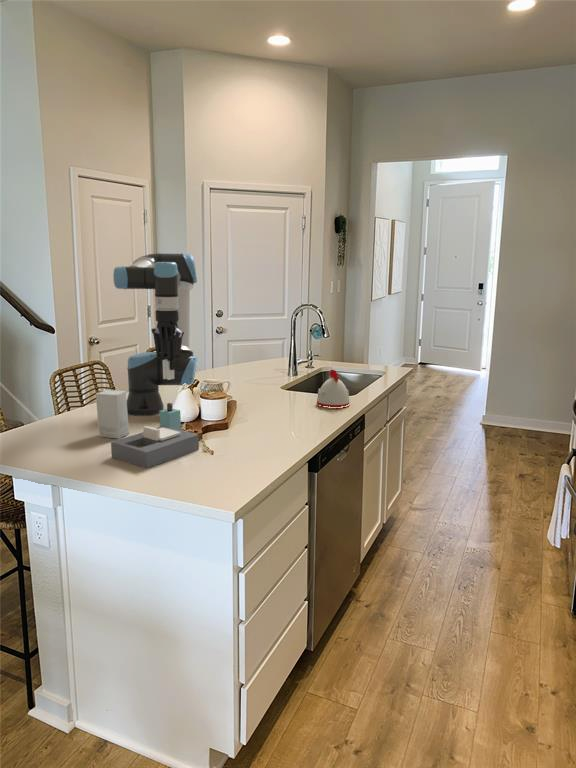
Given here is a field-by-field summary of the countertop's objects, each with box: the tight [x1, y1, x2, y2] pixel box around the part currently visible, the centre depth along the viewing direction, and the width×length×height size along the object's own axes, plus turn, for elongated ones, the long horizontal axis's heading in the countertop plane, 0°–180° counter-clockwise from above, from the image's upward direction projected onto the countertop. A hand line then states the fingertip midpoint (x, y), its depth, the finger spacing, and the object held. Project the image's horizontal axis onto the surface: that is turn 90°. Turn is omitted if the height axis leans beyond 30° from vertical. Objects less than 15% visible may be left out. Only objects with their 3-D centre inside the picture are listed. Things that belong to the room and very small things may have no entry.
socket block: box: [110, 426, 200, 469], centre depth 185 cm, size 16×22×5 cm
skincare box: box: [95, 389, 130, 440], centre depth 201 cm, size 8×7×16 cm
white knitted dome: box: [316, 369, 350, 407], centre depth 249 cm, size 14×14×15 cm
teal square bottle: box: [158, 402, 182, 430], centre depth 203 cm, size 5×5×12 cm
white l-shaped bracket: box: [142, 425, 181, 441], centre depth 186 cm, size 8×9×3 cm
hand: (168, 378), depth 200 cm, fingers closed
